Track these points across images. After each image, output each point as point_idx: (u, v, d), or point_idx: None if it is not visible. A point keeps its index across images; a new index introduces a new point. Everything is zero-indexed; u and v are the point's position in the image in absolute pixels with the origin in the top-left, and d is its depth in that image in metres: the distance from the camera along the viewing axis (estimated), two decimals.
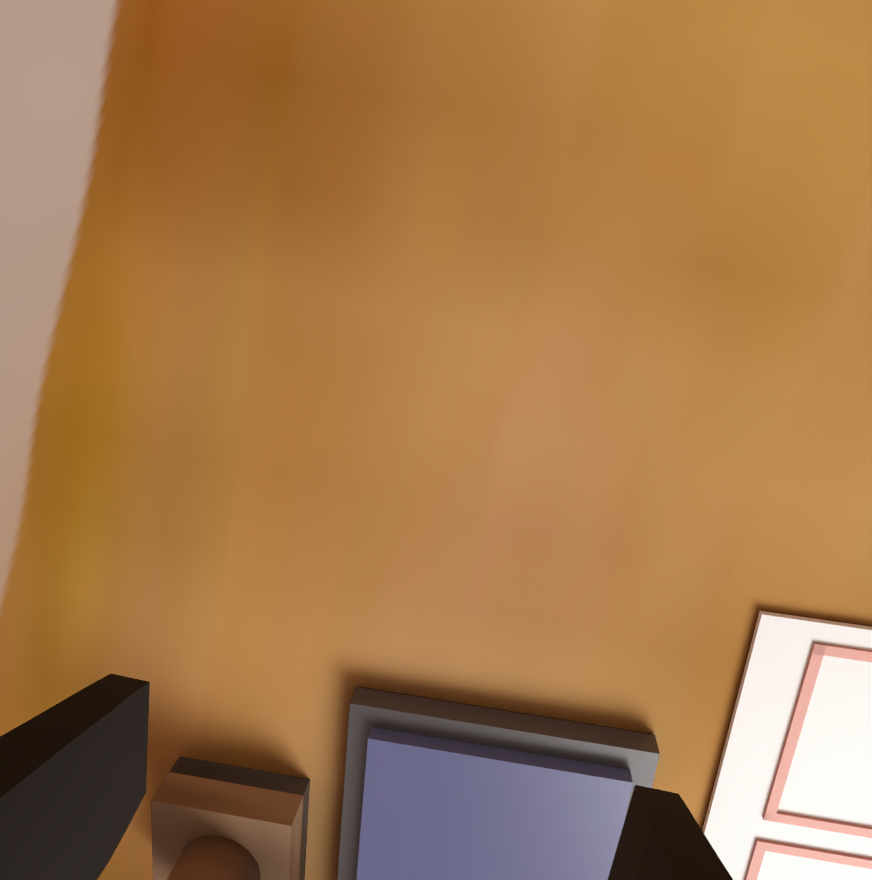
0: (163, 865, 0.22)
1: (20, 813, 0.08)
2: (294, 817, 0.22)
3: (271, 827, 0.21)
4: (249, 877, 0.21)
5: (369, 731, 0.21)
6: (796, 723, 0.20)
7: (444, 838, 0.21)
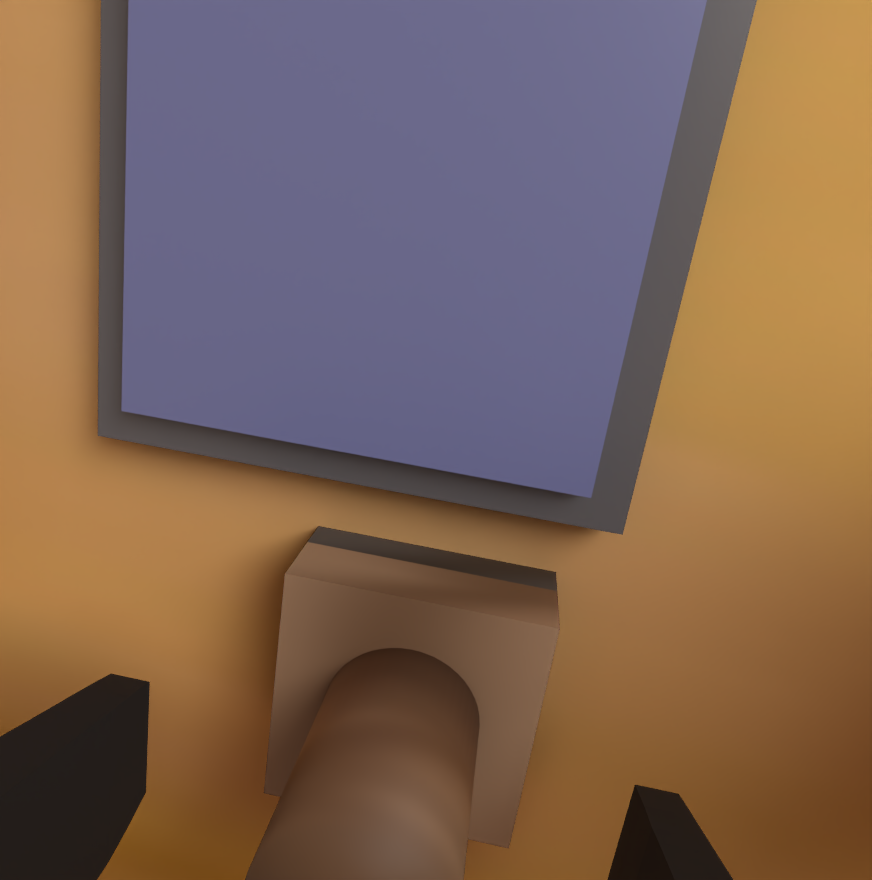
0: None
1: (20, 813, 0.08)
2: (293, 564, 0.12)
3: (292, 609, 0.12)
4: (366, 670, 0.11)
5: None
6: None
7: (324, 282, 0.11)
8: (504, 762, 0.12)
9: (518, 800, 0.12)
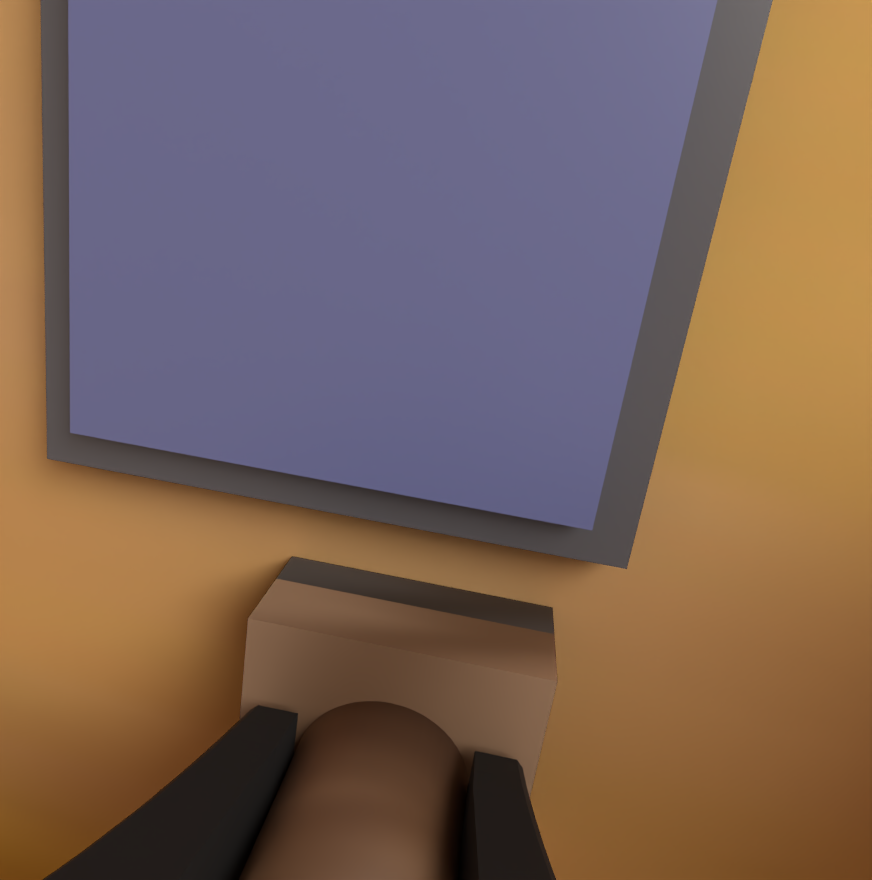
0: None
1: (213, 857, 0.08)
2: (258, 607, 0.10)
3: (256, 657, 0.10)
4: (339, 730, 0.10)
5: None
6: None
7: (293, 290, 0.09)
8: None
9: None
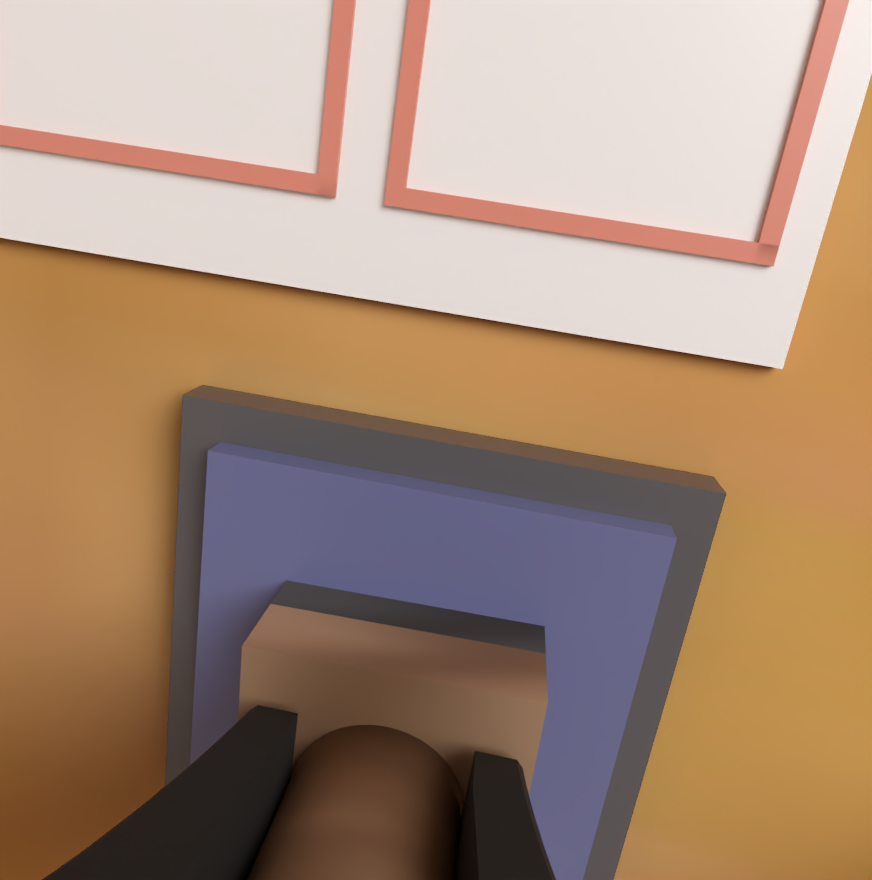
0: None
1: (213, 857, 0.08)
2: (252, 633, 0.11)
3: (251, 684, 0.10)
4: (333, 755, 0.10)
5: None
6: (131, 154, 0.12)
7: None
8: None
9: None
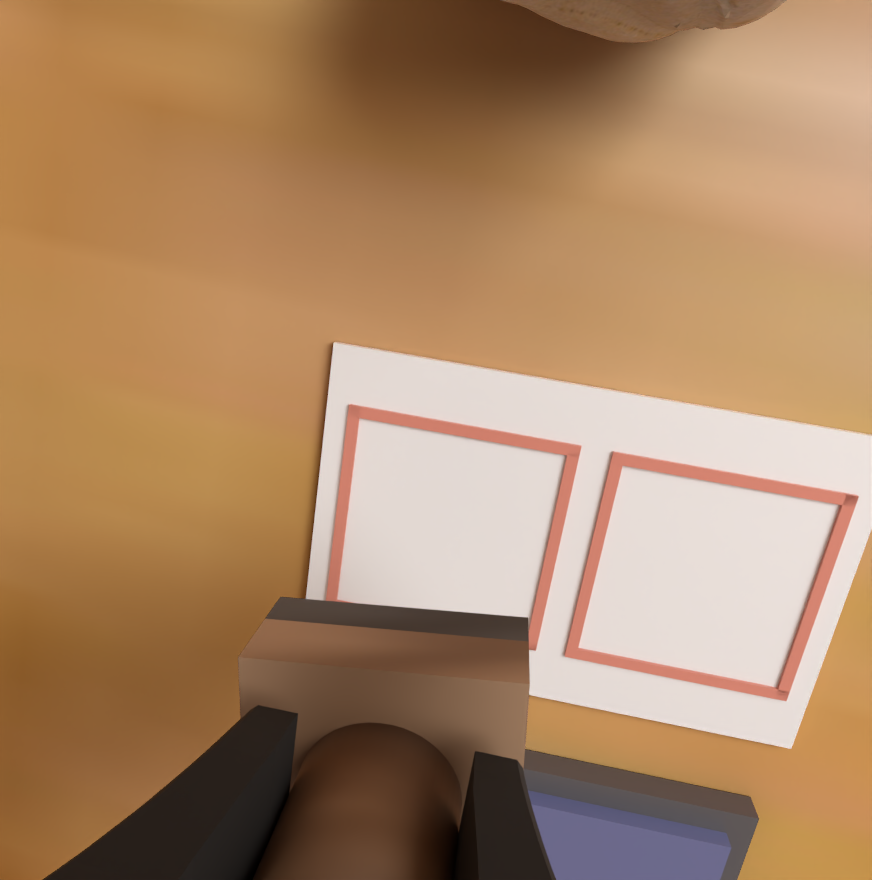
0: None
1: (213, 857, 0.08)
2: (248, 646, 0.11)
3: (250, 693, 0.11)
4: (331, 753, 0.10)
5: None
6: None
7: None
8: None
9: None
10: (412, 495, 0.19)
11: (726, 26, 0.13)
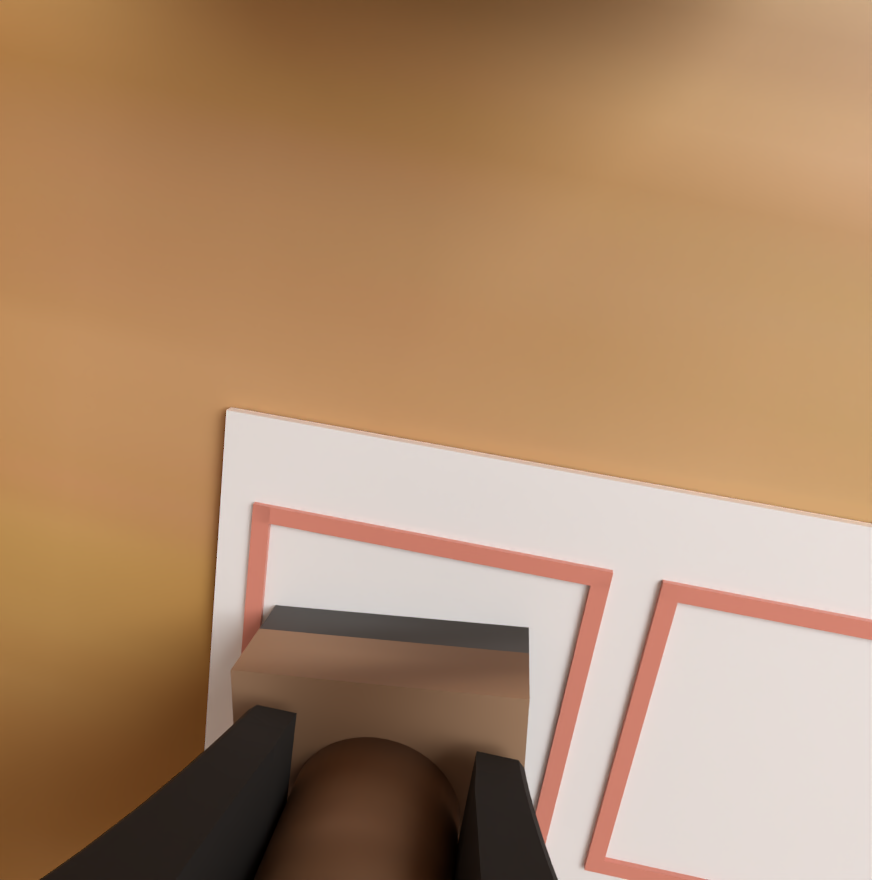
0: None
1: (211, 857, 0.08)
2: (241, 658, 0.11)
3: (243, 707, 0.11)
4: (326, 768, 0.10)
5: None
6: None
7: None
8: None
9: None
10: None
11: None
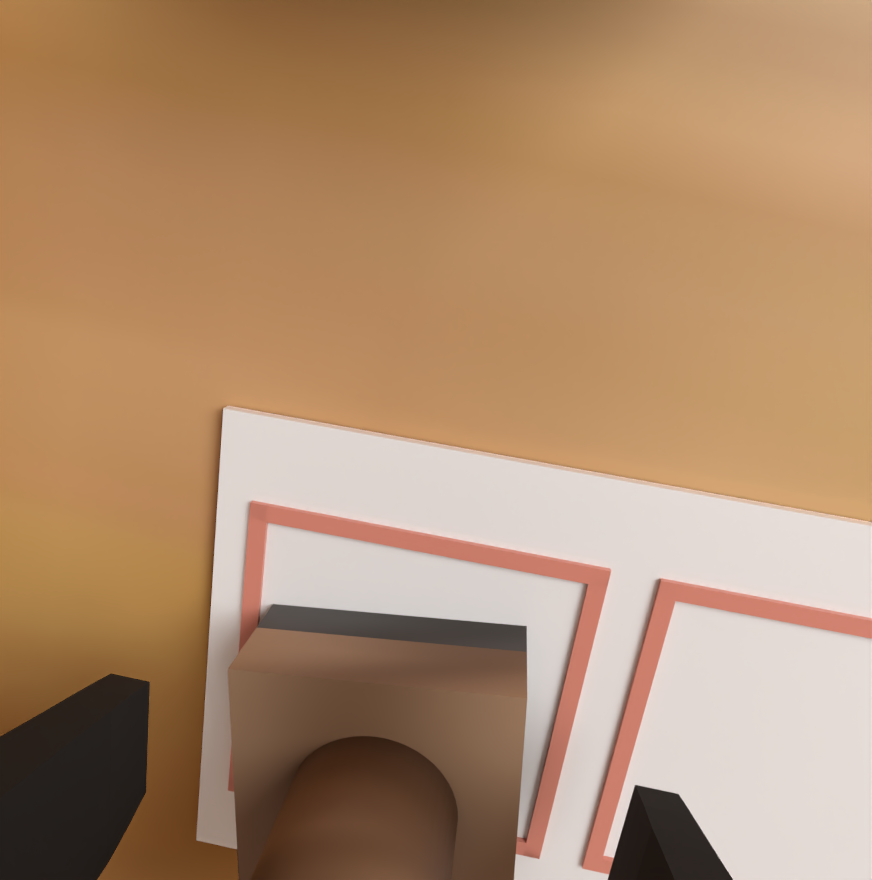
0: None
1: (20, 813, 0.08)
2: (238, 657, 0.11)
3: (240, 706, 0.11)
4: (323, 767, 0.10)
5: None
6: None
7: None
8: (490, 847, 0.11)
9: None
10: None
11: None
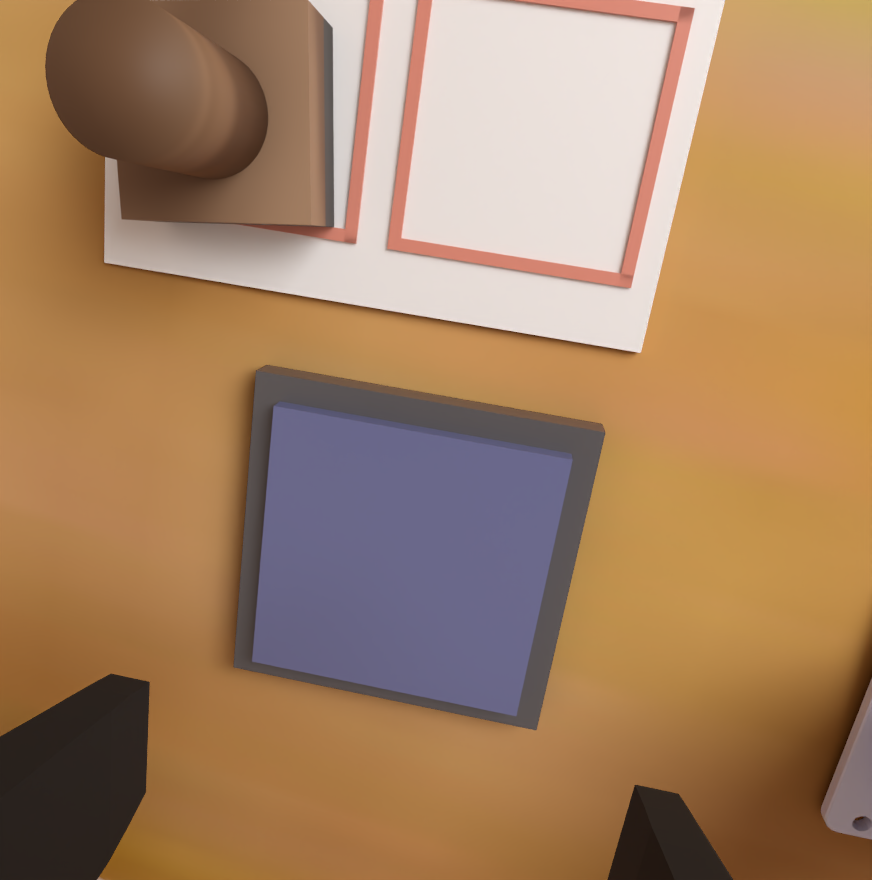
0: (225, 205, 0.16)
1: (20, 813, 0.08)
2: None
3: None
4: None
5: None
6: None
7: (369, 604, 0.19)
8: (292, 139, 0.15)
9: (310, 176, 0.15)
10: None
11: None
